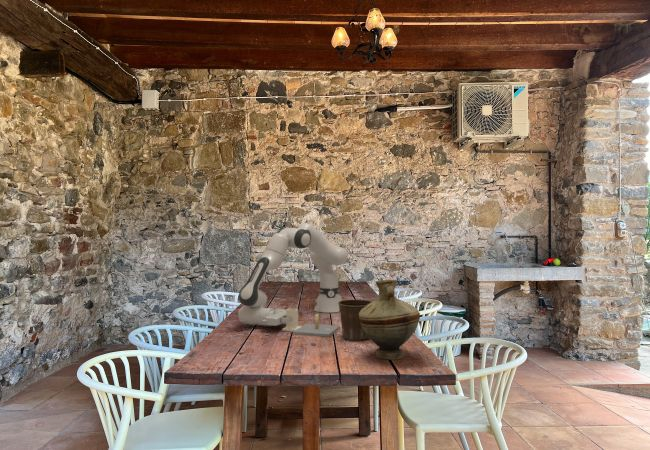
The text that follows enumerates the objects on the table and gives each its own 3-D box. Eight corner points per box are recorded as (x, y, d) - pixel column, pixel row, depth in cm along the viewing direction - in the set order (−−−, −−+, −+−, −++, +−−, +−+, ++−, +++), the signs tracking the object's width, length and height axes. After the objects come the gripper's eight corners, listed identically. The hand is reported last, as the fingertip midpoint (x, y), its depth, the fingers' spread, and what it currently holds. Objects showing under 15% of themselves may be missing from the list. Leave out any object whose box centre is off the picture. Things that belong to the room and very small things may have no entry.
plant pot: (372, 343, 187) (371, 306, 187) (335, 341, 191) (335, 305, 191) (375, 334, 203) (374, 299, 203) (341, 332, 206) (341, 299, 207)
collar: (282, 330, 211) (282, 310, 212) (288, 327, 219) (288, 307, 219) (296, 331, 209) (296, 311, 209) (302, 328, 216) (301, 308, 216)
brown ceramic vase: (383, 346, 185) (375, 276, 186) (435, 350, 170) (425, 274, 171) (352, 362, 166) (342, 285, 167) (406, 369, 151) (396, 283, 152)
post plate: (292, 334, 204) (292, 316, 204) (306, 326, 221) (306, 310, 221) (329, 336, 198) (329, 319, 199) (339, 328, 216) (339, 311, 216)
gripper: (259, 314, 208) (285, 316, 204) (276, 307, 228) (301, 308, 223) (259, 327, 208) (285, 329, 204) (276, 319, 227) (301, 320, 223)
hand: (293, 318), depth 214 cm, fingers open, 6 cm apart
